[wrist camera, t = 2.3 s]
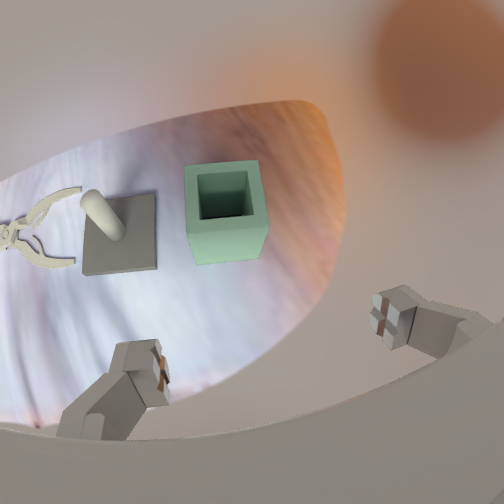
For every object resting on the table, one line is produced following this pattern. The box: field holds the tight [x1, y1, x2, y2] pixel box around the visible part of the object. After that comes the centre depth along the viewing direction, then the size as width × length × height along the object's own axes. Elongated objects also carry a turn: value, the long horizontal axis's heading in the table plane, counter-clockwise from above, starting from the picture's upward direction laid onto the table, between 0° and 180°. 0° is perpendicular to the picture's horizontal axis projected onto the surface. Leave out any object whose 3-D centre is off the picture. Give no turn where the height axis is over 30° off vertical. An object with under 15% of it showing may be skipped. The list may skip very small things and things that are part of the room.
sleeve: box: [184, 160, 270, 265], centre depth 25 cm, size 6×6×8 cm
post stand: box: [80, 189, 157, 276], centre depth 24 cm, size 8×8×8 cm
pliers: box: [0, 188, 82, 269], centre depth 26 cm, size 10×2×15 cm
